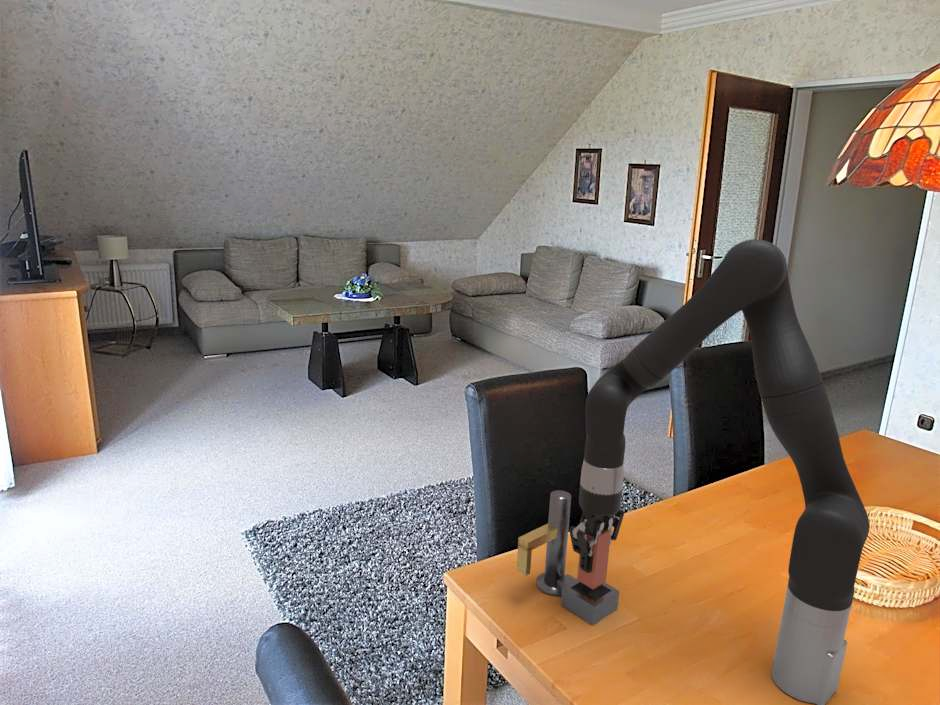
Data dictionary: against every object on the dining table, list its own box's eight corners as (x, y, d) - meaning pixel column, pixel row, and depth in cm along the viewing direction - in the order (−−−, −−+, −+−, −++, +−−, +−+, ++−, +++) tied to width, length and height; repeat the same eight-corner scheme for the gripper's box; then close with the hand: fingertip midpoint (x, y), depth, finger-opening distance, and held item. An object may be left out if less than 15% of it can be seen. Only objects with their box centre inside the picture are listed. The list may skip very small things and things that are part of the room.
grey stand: (617, 609, 129) (627, 515, 124) (570, 640, 120) (579, 540, 115) (552, 570, 140) (559, 483, 135) (506, 596, 131) (511, 503, 126)
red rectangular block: (605, 581, 128) (611, 530, 125) (593, 589, 125) (598, 536, 122) (589, 572, 130) (594, 521, 127) (577, 580, 128) (581, 528, 125)
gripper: (593, 503, 115) (585, 590, 119) (641, 479, 124) (632, 562, 129) (559, 486, 120) (553, 571, 125) (608, 465, 129) (600, 545, 134)
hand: (593, 566), depth 127 cm, fingers closed on red rectangular block, 3 cm apart
